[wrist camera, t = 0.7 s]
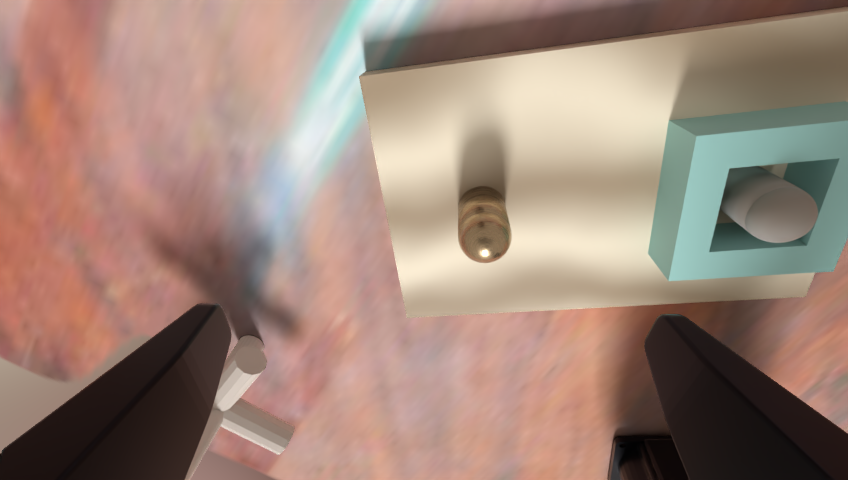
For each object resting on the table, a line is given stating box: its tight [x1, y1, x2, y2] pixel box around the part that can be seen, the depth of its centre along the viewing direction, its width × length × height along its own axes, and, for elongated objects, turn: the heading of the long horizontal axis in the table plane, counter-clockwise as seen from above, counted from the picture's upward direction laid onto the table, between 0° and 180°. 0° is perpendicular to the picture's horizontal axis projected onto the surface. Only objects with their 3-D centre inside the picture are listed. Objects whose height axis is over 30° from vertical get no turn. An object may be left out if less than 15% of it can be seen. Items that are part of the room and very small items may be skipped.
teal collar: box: [648, 101, 848, 281], centre depth 18 cm, size 7×7×2 cm
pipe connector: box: [185, 335, 295, 480], centre depth 25 cm, size 10×10×10 cm
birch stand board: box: [359, 7, 848, 318], centre depth 19 cm, size 14×22×6 cm, turn 98°
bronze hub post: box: [458, 186, 512, 263], centre depth 19 cm, size 2×2×4 cm
